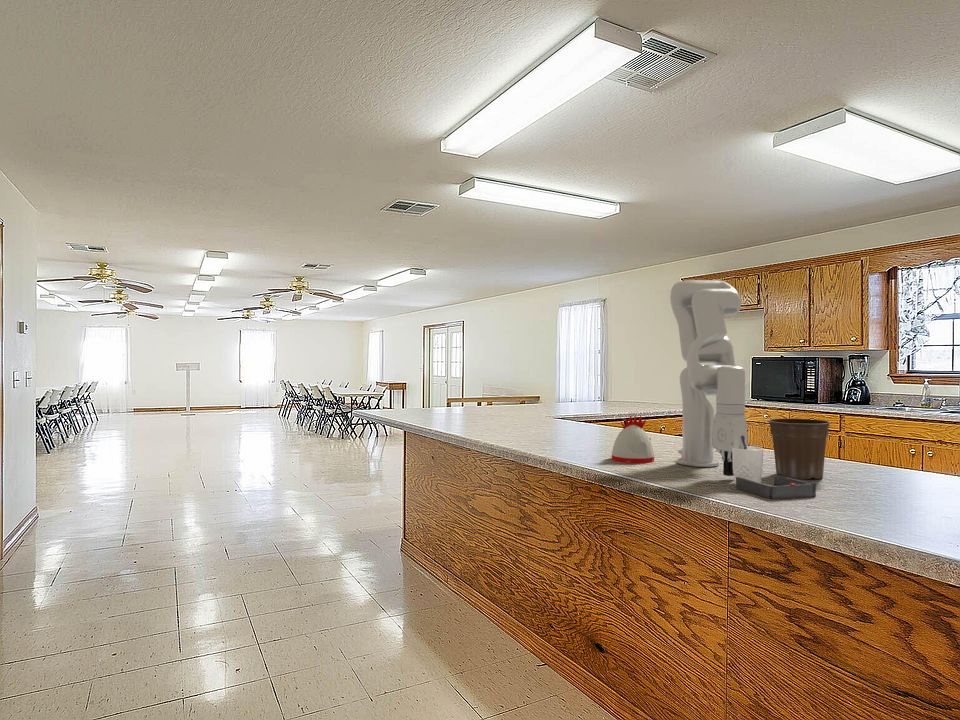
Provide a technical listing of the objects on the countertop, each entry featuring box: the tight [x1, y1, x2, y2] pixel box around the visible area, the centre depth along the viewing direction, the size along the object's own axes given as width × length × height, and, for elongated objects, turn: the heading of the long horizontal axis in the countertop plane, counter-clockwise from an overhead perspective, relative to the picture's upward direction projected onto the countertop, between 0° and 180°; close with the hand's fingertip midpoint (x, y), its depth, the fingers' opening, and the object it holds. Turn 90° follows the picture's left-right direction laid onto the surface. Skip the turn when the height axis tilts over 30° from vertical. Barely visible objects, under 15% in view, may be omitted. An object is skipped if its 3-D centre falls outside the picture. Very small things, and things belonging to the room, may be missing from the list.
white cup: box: [732, 445, 764, 485], centre depth 168 cm, size 8×8×10 cm
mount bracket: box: [735, 474, 817, 500], centre depth 158 cm, size 13×13×3 cm
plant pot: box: [767, 417, 832, 480], centre depth 180 cm, size 16×16×16 cm
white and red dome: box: [611, 415, 655, 464], centre depth 208 cm, size 14×14×15 cm
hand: (730, 475), depth 174 cm, fingers closed
